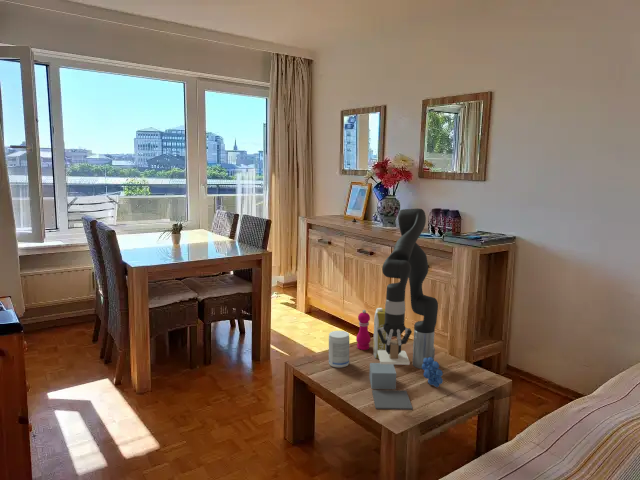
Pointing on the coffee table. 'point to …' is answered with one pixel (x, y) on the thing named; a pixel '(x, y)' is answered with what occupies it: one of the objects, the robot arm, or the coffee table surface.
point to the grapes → (432, 371)
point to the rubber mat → (391, 399)
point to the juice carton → (378, 323)
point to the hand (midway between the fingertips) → (393, 353)
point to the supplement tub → (338, 349)
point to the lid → (393, 355)
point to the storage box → (382, 376)
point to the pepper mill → (363, 331)
